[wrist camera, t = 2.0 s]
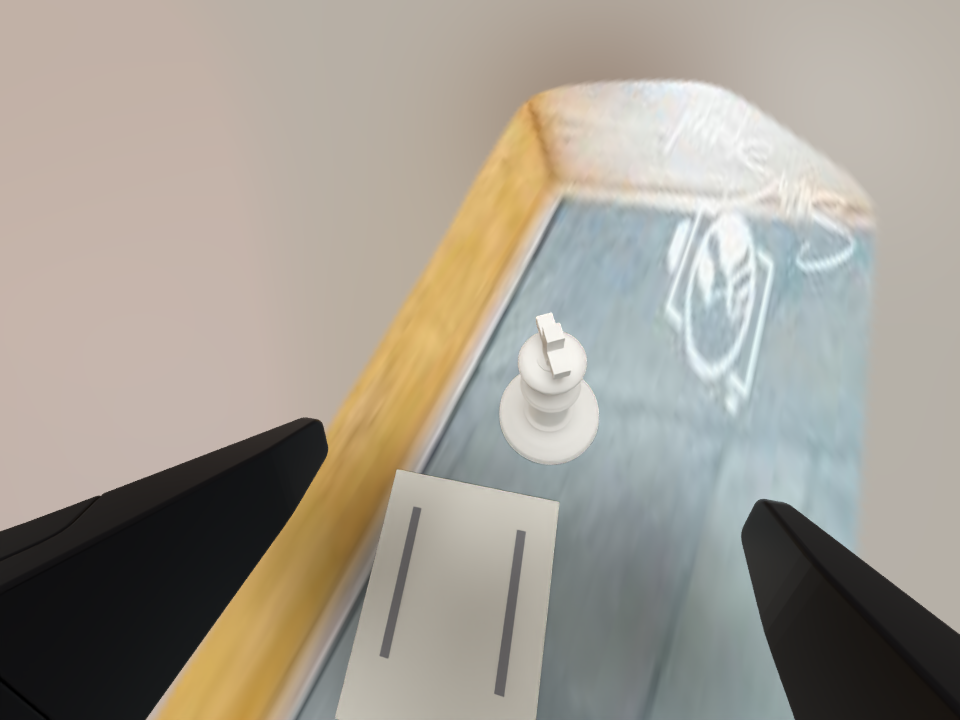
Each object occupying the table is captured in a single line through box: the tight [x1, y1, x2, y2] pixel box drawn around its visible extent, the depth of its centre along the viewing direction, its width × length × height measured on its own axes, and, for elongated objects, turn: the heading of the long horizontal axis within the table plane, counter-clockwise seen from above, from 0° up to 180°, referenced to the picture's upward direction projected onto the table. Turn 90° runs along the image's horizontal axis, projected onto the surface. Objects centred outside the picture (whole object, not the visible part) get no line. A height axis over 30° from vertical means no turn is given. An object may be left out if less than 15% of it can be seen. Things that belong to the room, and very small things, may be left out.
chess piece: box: [499, 313, 599, 465], centre depth 13 cm, size 5×5×10 cm
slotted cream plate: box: [335, 469, 559, 720], centre depth 15 cm, size 10×8×1 cm
